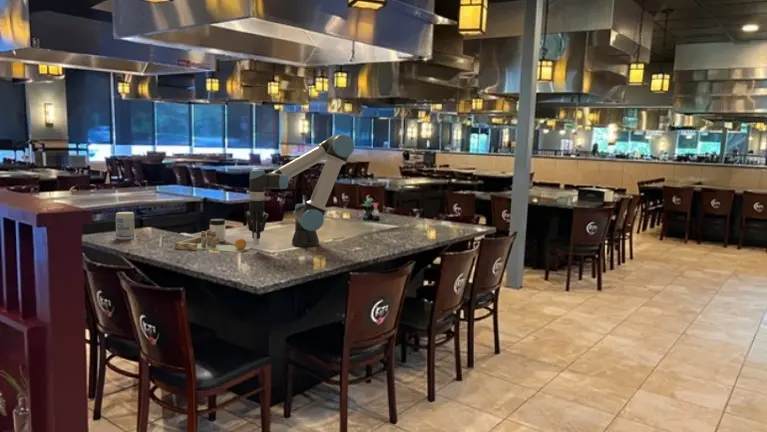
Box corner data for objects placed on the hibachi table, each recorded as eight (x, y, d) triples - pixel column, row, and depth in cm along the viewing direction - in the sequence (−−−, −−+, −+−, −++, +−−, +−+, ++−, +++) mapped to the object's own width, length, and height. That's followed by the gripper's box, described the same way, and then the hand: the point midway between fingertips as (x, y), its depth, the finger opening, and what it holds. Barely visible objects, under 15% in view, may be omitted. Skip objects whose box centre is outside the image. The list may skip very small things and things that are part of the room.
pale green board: (252, 247, 306) (252, 247, 306) (238, 252, 293) (238, 252, 293) (200, 243, 315) (200, 242, 315) (184, 247, 302) (184, 247, 302)
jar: (212, 242, 319) (211, 221, 317) (207, 240, 325) (207, 219, 324) (227, 241, 323) (227, 220, 322) (223, 238, 330) (223, 218, 329)
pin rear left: (207, 247, 304) (207, 231, 303) (204, 247, 302) (204, 232, 301) (203, 246, 305) (202, 231, 304) (200, 247, 303) (200, 231, 302)
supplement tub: (115, 240, 316) (114, 214, 314) (116, 237, 325) (115, 211, 323) (134, 239, 320) (134, 213, 318) (134, 236, 329) (134, 211, 327)
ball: (248, 249, 302) (248, 237, 302) (242, 251, 297) (242, 239, 296) (238, 248, 304) (238, 237, 303) (232, 250, 298) (232, 238, 298)
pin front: (217, 247, 306) (217, 231, 304) (214, 247, 303) (214, 232, 302) (213, 246, 306) (212, 231, 305) (210, 247, 304) (210, 231, 303)
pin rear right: (212, 245, 309) (212, 230, 308) (209, 246, 307) (209, 230, 306) (208, 245, 310) (208, 229, 309) (205, 246, 308) (205, 230, 306)
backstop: (218, 243, 316) (218, 237, 316) (195, 250, 295) (195, 244, 295) (199, 241, 320) (199, 236, 319) (175, 248, 299) (175, 242, 298)
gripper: (241, 199, 292) (241, 244, 295) (264, 201, 289) (264, 247, 292) (249, 198, 300) (248, 242, 303) (271, 200, 296) (270, 244, 299)
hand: (256, 244), depth 297 cm, fingers closed
